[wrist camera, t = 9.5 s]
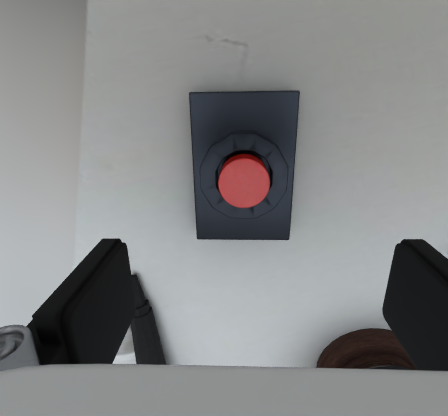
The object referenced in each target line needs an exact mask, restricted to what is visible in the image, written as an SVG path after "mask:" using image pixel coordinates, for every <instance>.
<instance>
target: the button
mask: <svg viewBox="0 0 448 416" xmlns="http://www.w3.org/2000/svg"><path fill="white" fill-rule="evenodd" d="M218 186H219V191H220V193H221V195H222V197H223V198H224V199H225V200H226V201H227V202H228V203H229V204H231V205H233V206H235V207H239V208H248V207H252V206H255V205H257V204H259V203H260V202H261V201H262V200H263V199H264V198H265V197H266V195H267V193H268V191H269V188H270V178H269V175H268V172H267V169H266V167H265V165H264V163H263V162H262V161H261V160H260V159H259V158H257V157H256V156H253V155H251V154H237V155H234V156H232V157H231V158H229V159H228V160H227V161H226V162H225V163H224V165H223V166H222V168H221V171H220V175H219V180H218Z"/></svg>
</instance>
